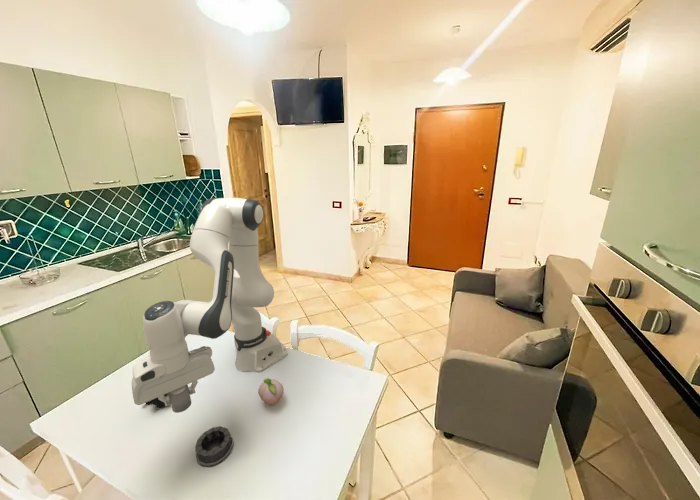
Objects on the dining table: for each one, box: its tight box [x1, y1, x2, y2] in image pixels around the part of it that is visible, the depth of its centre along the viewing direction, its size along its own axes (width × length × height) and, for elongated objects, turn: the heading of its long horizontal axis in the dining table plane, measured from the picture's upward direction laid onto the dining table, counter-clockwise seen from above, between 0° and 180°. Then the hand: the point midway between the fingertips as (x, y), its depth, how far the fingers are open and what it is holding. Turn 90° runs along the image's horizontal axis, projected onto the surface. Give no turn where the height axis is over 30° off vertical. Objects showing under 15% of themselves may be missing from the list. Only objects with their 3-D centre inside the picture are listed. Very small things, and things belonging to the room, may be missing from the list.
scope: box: [145, 393, 169, 410], centre depth 106 cm, size 8×14×10 cm
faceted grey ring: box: [194, 425, 234, 468], centre depth 90 cm, size 10×10×4 cm
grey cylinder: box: [168, 384, 192, 414], centre depth 86 cm, size 5×5×6 cm
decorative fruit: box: [257, 377, 285, 406], centre depth 106 cm, size 9×8×10 cm
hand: (180, 398), depth 86 cm, fingers closed on grey cylinder, 5 cm apart
